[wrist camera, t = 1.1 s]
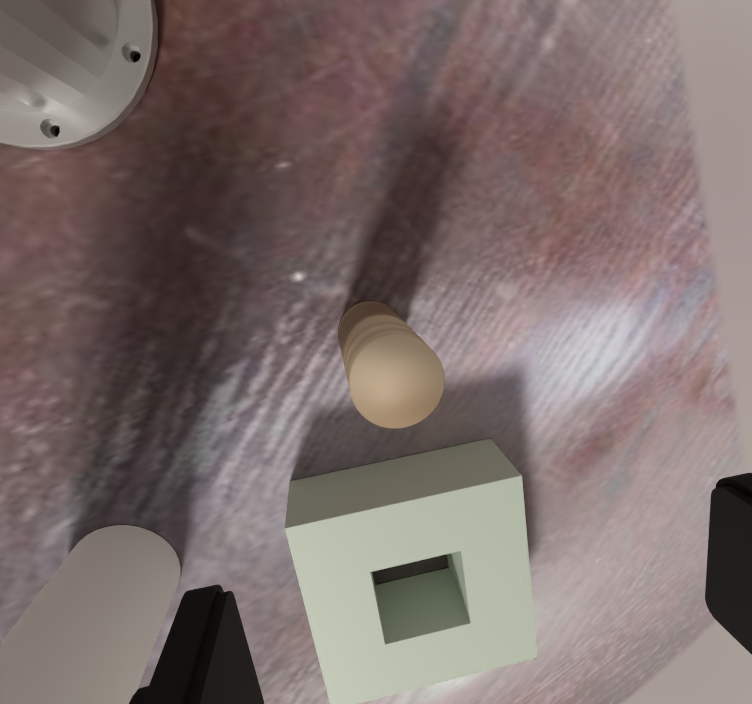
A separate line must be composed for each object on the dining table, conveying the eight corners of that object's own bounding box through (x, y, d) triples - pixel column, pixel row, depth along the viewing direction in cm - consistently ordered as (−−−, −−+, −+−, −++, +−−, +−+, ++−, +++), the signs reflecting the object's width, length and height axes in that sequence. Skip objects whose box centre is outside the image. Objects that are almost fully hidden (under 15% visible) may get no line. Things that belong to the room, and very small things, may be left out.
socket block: (289, 481, 30) (284, 528, 26) (490, 438, 31) (522, 475, 27) (329, 643, 34) (331, 710, 29) (507, 599, 35) (537, 657, 30)
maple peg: (332, 307, 28) (341, 347, 18) (396, 295, 28) (438, 328, 18) (344, 368, 29) (359, 437, 19) (405, 356, 29) (450, 418, 20)
